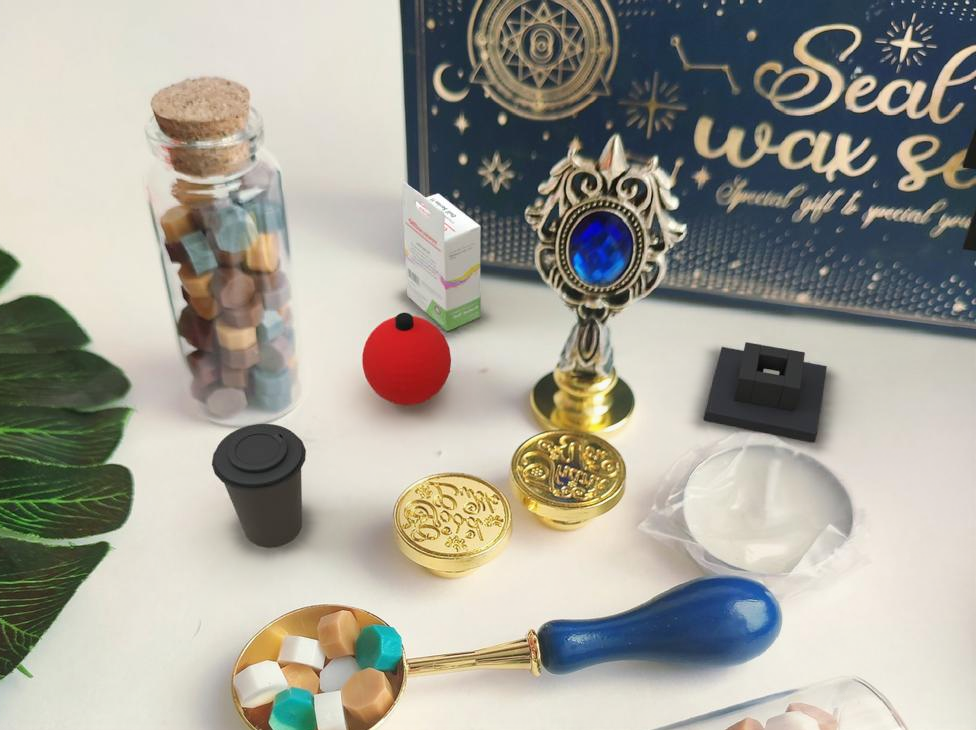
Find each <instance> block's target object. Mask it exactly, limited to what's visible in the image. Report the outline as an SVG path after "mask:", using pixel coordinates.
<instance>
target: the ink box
mask: <svg viewBox="0 0 976 730" xmlns="http://www.w3.org/2000/svg"><path fill="white" fill-rule="evenodd" d="M401 190H402V191H401V193H402V195H401V196H402V217H403V218H402V220H403V222H402V223H403V238H404V254H405V256H404V258H405V275H406V292H407V297H408V298H409V299H410V300H411V301H413V303H415V305H417V306H418V307H419V308H420V309H421V310H422V311H424V312H425V314H426V315H428V316H429V317H430V318H431V319H432V320H433V321H435V323H437V324H438V325H439V326H440V327H441V329H443V330H445V331H446V332H450V331H451V330H454V329H456V328H458V327H461V326H463V325H466V324H467V323H469V322H472V321H474V320H476V319H479V318H481V315H482V314H481V225H480V224H479V223H478V222H476V221H475V220H473V219H472V218H471V217H469V216H468V215H467V214H466V213H464V212H463V211H462V210H460V209H459V208H458V207H457V206H455V205H454V203H453V204H452V202H450V201H449V200H448V199H446V198H445V197H443V195H441V194H440V193H435V194H431V195H429V196H426V197H425V196H424V195H423V194H421V193H420V192H419V191H418V190H416V189H414V187H412V186H411V185H409V184H408V183H407V182H406V181H402V185H401Z"/></svg>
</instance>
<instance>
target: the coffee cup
mask: <svg viewBox="0 0 976 730" xmlns="http://www.w3.org/2000/svg"><path fill="white" fill-rule="evenodd" d="M306 455H307V449H306V446H305V445H304V442H303V440H302V439H301V438H300V437H299V436H298V435H297V434H296V433H295V432H293V431H292V430H290V429H288V428H286V427H284V426H281V425H278V424H273V423H256V424H250V425H246V426H243V427H240V428H238V429H235V430H234V431H232V432H231V433H228V434H227V435H226V436H225V437H223V439H222V440H221V441H220V442H219V444H218V445H217V447H216V449H215V451H214V452H213V454H212V461H211V466H212V470H213V473H214V475H215V476H216V477H217V478H218V479H219V480H220V482H221V483H223V484H224V486H225V489H226V491H227V493H228V496H229V498H230V502H231V503H232V505H233V508H234V511H235V514H236V515H237V518H238V520H239V523H240V526H241V527H242V530H243V533H244V535H245V537H246V538H247V539H248V541H249V542H251V543H253V544H254V545H256V546H259V547H263V548H277V547H281V546H284V545H286V544H288V543H290V542H292V541H293V540H294V539H296V537H297V536H298V535H299V534H300V533H301V530H302V526H303V501H302V500H303V496H302V495H303V493H302V491H303V488H302V487H303V483H302V467H303V466H304V463H305V462H306Z"/></svg>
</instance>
